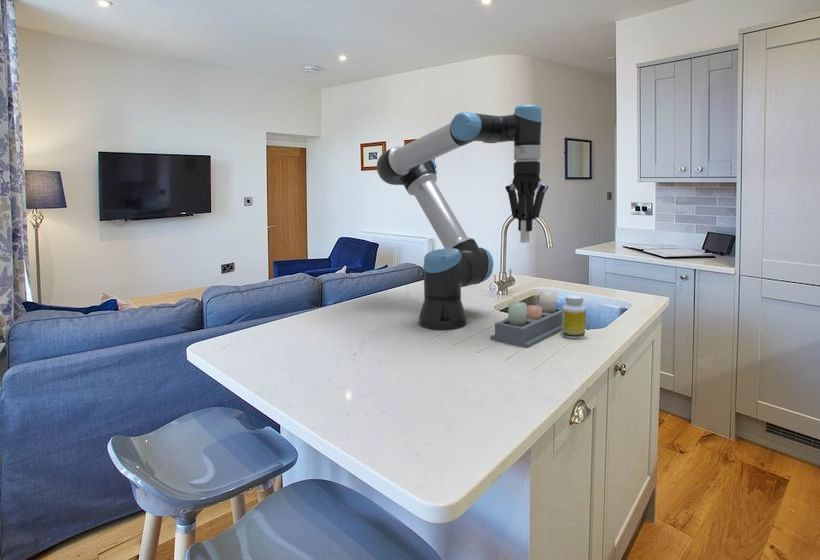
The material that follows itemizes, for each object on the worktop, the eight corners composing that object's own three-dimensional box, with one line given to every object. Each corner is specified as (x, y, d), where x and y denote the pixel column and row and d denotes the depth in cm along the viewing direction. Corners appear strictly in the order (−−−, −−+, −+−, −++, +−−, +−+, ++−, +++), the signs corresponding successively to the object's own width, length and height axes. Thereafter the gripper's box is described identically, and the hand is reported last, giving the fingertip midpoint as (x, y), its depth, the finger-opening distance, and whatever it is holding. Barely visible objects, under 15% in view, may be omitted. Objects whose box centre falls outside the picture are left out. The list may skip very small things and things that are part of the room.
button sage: (504, 324, 142) (505, 304, 141) (514, 321, 146) (514, 300, 145) (520, 327, 139) (520, 306, 138) (529, 324, 142) (530, 303, 141)
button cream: (536, 312, 155) (536, 293, 154) (543, 308, 159) (544, 290, 158) (551, 314, 152) (551, 295, 151) (558, 311, 155) (559, 292, 154)
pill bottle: (586, 339, 142) (588, 299, 140) (562, 338, 143) (563, 299, 141) (583, 333, 148) (584, 294, 146) (560, 332, 149) (561, 294, 147)
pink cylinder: (520, 327, 149) (521, 307, 148) (529, 323, 153) (529, 304, 152) (536, 330, 146) (536, 310, 145) (544, 326, 149) (545, 306, 148)
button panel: (490, 339, 144) (490, 322, 143) (536, 319, 163) (536, 304, 162) (527, 347, 136) (528, 330, 135) (571, 325, 155) (572, 310, 154)
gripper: (500, 161, 147) (499, 242, 152) (541, 159, 138) (538, 244, 143) (513, 162, 152) (512, 239, 157) (553, 160, 144) (550, 242, 148)
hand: (524, 242), depth 150 cm, fingers closed
